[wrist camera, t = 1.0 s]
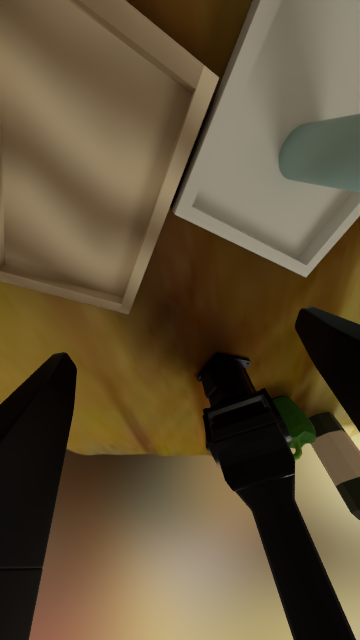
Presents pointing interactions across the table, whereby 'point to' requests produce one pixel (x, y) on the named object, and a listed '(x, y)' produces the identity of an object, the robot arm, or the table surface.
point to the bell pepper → (295, 424)
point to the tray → (90, 144)
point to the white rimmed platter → (276, 132)
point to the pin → (324, 153)
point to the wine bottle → (338, 458)
